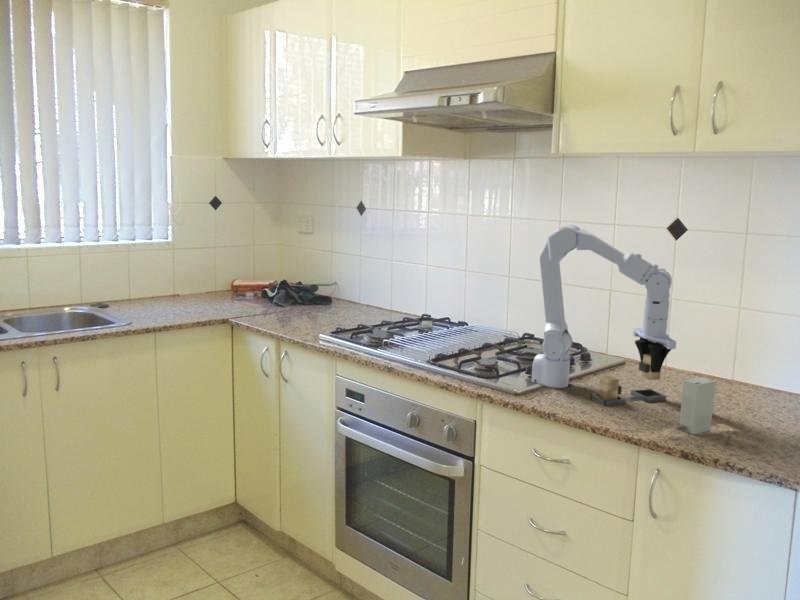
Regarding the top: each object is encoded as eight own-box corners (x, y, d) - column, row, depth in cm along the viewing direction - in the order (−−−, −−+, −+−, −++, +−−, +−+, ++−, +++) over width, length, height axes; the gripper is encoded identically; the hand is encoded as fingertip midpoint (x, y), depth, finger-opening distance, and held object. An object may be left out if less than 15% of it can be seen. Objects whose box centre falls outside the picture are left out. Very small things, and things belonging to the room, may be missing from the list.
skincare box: (695, 425, 167) (700, 375, 164) (711, 431, 163) (717, 381, 160) (677, 429, 164) (682, 378, 161) (693, 436, 160) (698, 384, 158)
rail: (603, 411, 174) (604, 401, 174) (590, 403, 180) (591, 393, 180) (664, 406, 180) (665, 396, 179) (650, 398, 186) (650, 389, 185)
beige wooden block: (651, 375, 183) (653, 353, 182) (659, 379, 180) (662, 356, 179) (637, 377, 181) (639, 354, 180) (645, 380, 178) (647, 357, 177)
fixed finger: (605, 403, 176) (607, 380, 175) (598, 399, 179) (600, 376, 178) (621, 402, 177) (623, 379, 176) (613, 398, 180) (615, 375, 179)
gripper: (688, 323, 172) (683, 376, 175) (650, 311, 186) (646, 361, 188) (664, 324, 170) (659, 378, 173) (627, 312, 184) (623, 363, 186)
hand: (650, 369), depth 180 cm, fingers closed on beige wooden block, 3 cm apart
